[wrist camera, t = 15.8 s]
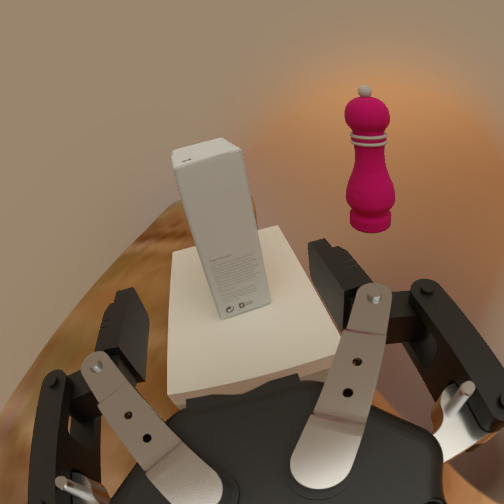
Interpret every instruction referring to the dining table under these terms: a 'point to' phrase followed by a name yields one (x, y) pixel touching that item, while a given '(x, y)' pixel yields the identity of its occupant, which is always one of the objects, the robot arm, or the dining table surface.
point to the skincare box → (222, 223)
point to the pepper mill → (369, 164)
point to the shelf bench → (245, 329)
